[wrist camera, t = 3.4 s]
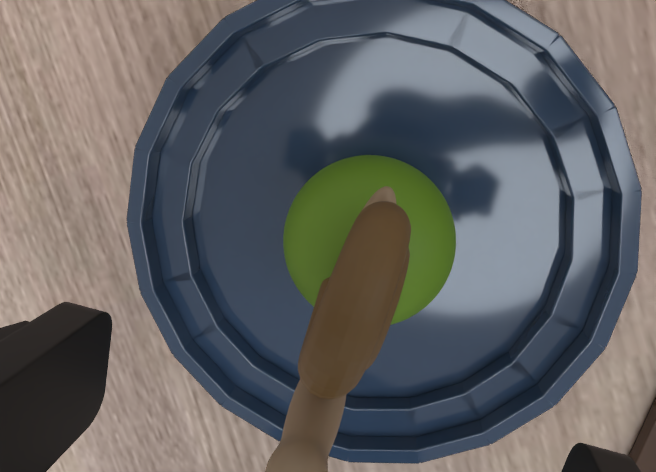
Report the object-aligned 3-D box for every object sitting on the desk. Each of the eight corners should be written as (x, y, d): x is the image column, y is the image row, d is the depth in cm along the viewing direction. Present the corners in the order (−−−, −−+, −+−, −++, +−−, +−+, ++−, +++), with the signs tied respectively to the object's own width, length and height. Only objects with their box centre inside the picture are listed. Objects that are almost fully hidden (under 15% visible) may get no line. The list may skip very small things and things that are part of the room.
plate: (188, -65, 19) (160, -84, 16) (697, 44, 17) (736, 38, 15) (133, 365, 24) (106, 392, 21) (524, 476, 22) (535, 517, 20)
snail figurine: (279, 287, 21) (120, 525, 10) (324, 127, 19) (195, 184, 8) (412, 331, 21) (413, 633, 9) (472, 173, 19) (566, 306, 7)
